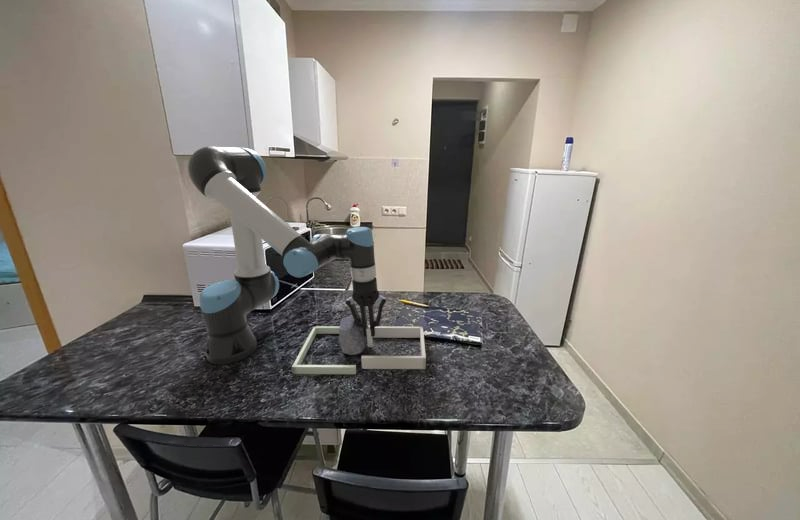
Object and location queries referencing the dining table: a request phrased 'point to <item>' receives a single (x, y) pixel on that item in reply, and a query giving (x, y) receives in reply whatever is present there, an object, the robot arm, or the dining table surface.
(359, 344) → the stone
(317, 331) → the pale green u-shaped frame
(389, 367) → the frame
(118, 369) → the dining table surface
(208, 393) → the dining table surface
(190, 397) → the dining table surface
